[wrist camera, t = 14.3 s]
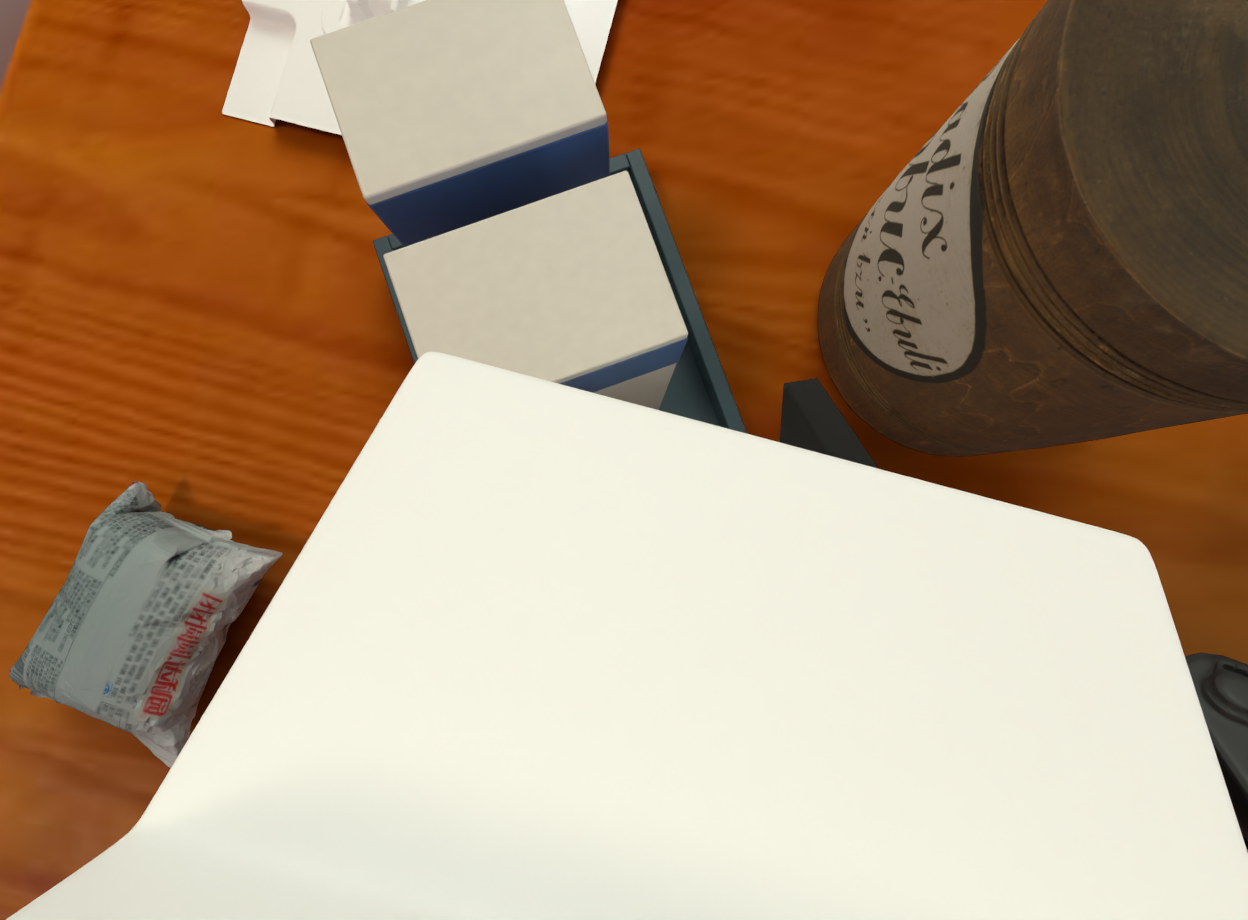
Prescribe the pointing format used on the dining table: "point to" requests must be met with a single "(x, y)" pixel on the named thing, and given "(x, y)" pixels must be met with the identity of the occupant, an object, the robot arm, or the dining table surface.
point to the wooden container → (1061, 243)
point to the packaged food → (142, 620)
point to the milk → (681, 696)
